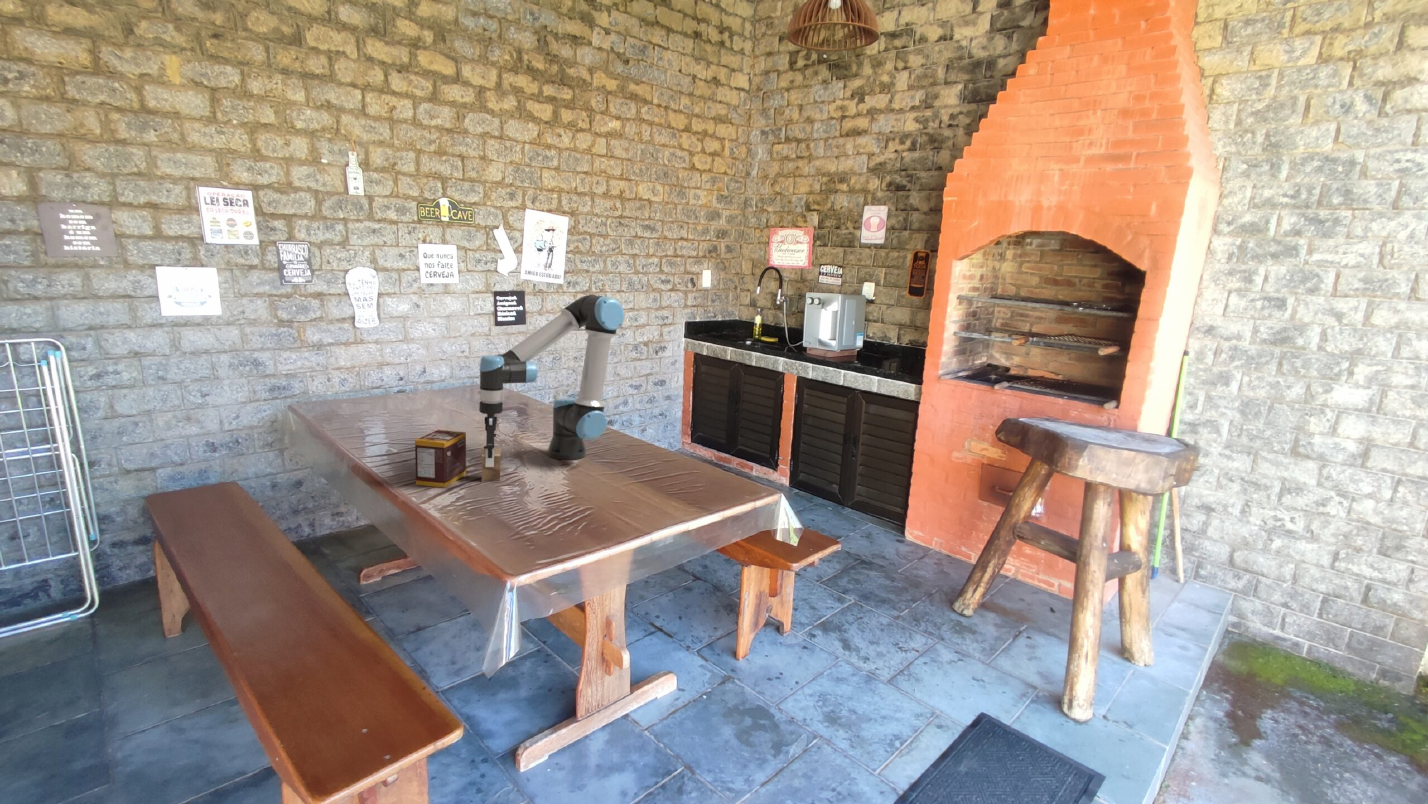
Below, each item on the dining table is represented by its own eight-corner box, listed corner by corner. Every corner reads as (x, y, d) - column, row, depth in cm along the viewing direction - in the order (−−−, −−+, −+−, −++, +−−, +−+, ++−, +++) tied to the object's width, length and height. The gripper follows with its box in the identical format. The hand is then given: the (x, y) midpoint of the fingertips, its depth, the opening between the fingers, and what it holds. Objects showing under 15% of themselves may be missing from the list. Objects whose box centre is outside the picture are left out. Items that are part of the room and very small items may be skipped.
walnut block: (500, 475, 233) (500, 448, 231) (500, 481, 227) (500, 453, 225) (481, 476, 231) (481, 448, 229) (481, 481, 226) (481, 454, 224)
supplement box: (466, 474, 232) (466, 431, 229) (445, 488, 217) (444, 442, 214) (438, 471, 233) (438, 428, 230) (415, 484, 218) (414, 439, 215)
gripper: (480, 393, 234) (479, 450, 238) (478, 408, 211) (477, 471, 215) (502, 394, 236) (500, 450, 240) (503, 409, 213) (501, 471, 217)
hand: (489, 460), depth 228 cm, fingers open, 13 cm apart
